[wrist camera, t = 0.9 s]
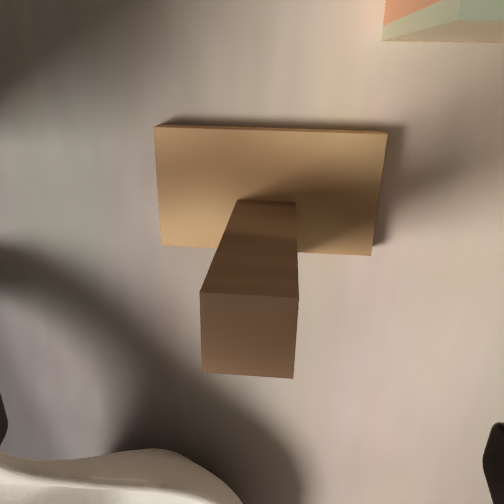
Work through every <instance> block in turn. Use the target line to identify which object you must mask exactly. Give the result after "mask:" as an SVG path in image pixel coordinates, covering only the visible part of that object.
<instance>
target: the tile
mask: <svg viewBox="0 0 504 504" xmlns="http://www.w3.org/2000/svg"><path fill="white" fill-rule="evenodd" d="M381 41H396V42H454V43H504V0H386V6H385V14H384V22H383V30H382V38H381Z"/></svg>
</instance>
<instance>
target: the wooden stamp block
mask: <svg viewBox="0 0 504 504" xmlns="http://www.w3.org/2000/svg"><path fill="white" fill-rule="evenodd" d="M153 128H154V143H155V157H156V172H157V187H158V202H159V217H160V232H161V245H164V246H184V247H204V248H217V250H216V253H215V255H214V258H213V260H212V263H211V265H210V268H209V270H208V273H207V275H206V278H205V280H204V283H203V285H202V288H201V290H200V319H201V351H202V372H204V373H218V374H233V375H247V376H262V377H276V378H290V379H293V374H294V360H295V346H296V332H297V317H298V303H299V288H298V259H297V252H304V253H324V254H345V255H365V256H371V251H372V244H373V237H374V230H375V222H376V215H377V208H378V201H379V193H380V186H381V179H382V172H383V164H384V157H385V150H386V143H387V135H388V134H386V133H385V132H384V131H364V130H331V129H298V128H265V127H232V126H199V125H166V124H159V125H157V126H155V127H153Z"/></svg>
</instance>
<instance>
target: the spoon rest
mask: <svg viewBox="0 0 504 504" xmlns="http://www.w3.org/2000/svg"><path fill="white" fill-rule="evenodd" d="M0 504H243V503H242V502H241V501H240V499H239V498H238V497H237V495H236V494H235V493H234V492H233V491H232V490H231V489H230V487H228V486H227V485H226V484H225V483H224V482H223V481H222V480H221V479H219V478H218V477H217V476H215V475H214V474H212V473H211V472H209V471H208V470H206V469H204V468H203V467H201V466H200V465H198V464H196V463H194V462H192V461H191V460H190V459H188V458H187V457H185V456H183V455H181V454H179V453H176V452H173V451H170V450H165V449H157V448H148V449H140V450H130V451H122V452H116V453H111V454H105V455H100V456H95V457H88V458H80V459H70V460H51V461H49V460H33V459H27V458H21V457H17V456H13V455H9V454H6V453H4V452H1V451H0Z"/></svg>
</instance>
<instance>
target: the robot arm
mask: <svg viewBox="0 0 504 504" xmlns="http://www.w3.org/2000/svg"><path fill="white" fill-rule="evenodd" d="M7 428H8V420H7V416H6V412H5V408H4V404H3V401H2V397H1V394H0V445H1V443H2V441H3V439H4V437H5V435H6V432H7ZM483 470H484V474H485V477H486V480H487V484H488V487H489V491H490V494H491V497H492V501H493V504H504V423H501V422H498V423H495V424H494V425H493V426H492V428H491V431H490V435H489V438H488V441H487V444H486V448H485V451H484V454H483Z"/></svg>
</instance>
